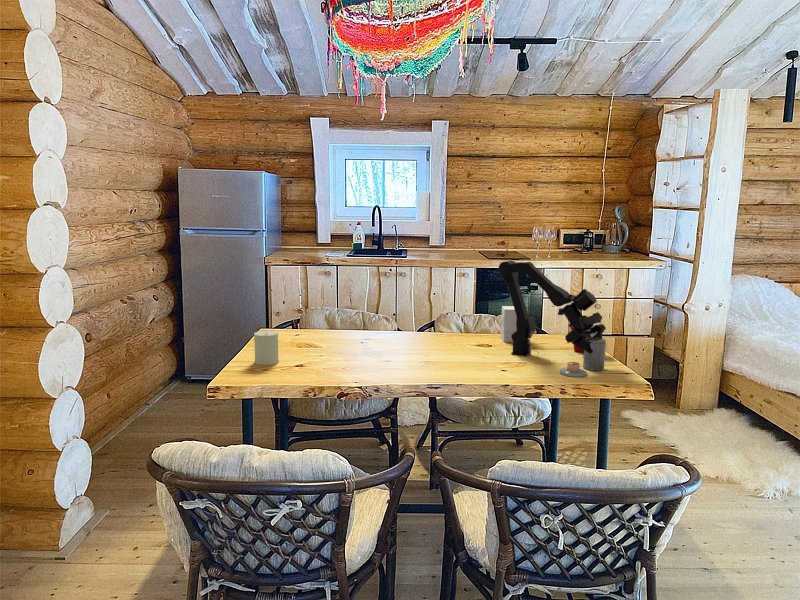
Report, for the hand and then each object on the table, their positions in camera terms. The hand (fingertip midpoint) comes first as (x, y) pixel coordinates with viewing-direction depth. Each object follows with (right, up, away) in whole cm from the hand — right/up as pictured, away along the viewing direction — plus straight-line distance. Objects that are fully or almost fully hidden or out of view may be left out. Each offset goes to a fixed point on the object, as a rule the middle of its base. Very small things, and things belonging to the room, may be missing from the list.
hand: (597, 351), depth 241 cm
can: (-126, -5, +5) cm, 126 cm away
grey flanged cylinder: (-1, -6, +2) cm, 7 cm away
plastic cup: (+1, -2, +28) cm, 28 cm away
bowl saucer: (-11, -8, -5) cm, 14 cm away
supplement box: (-24, +1, +47) cm, 53 cm away
